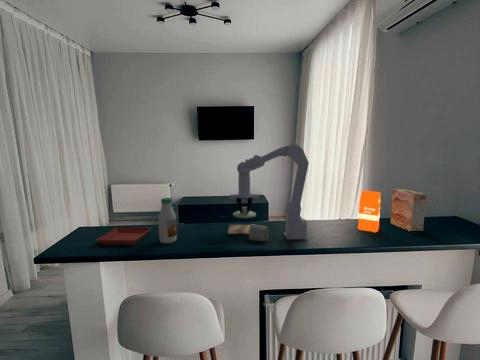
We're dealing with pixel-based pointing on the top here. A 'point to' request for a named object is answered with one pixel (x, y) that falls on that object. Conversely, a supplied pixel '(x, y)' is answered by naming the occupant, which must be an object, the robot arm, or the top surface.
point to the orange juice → (369, 211)
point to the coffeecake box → (408, 209)
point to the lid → (244, 213)
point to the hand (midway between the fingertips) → (244, 212)
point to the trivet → (238, 229)
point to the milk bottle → (167, 222)
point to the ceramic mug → (258, 232)
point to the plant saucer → (124, 236)
